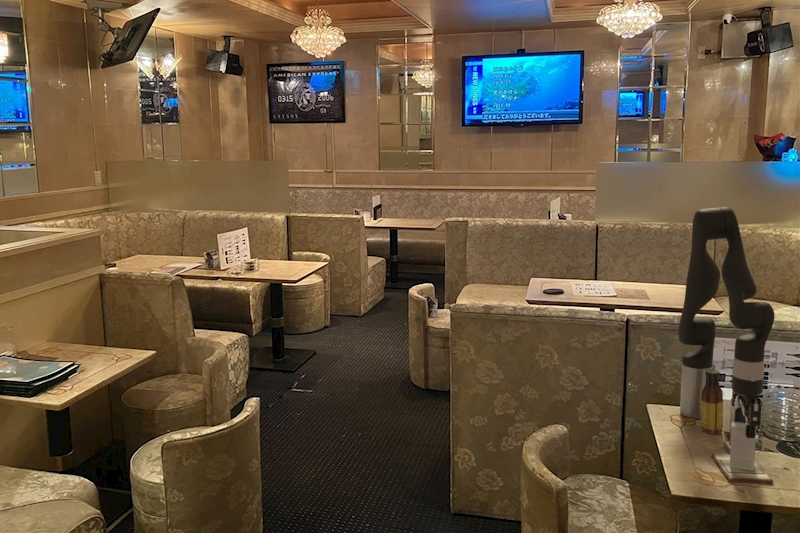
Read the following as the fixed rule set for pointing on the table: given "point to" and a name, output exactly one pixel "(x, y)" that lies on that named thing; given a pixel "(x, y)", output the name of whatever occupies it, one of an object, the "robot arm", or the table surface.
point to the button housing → (727, 447)
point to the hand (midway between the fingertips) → (744, 430)
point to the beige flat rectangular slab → (741, 471)
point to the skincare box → (741, 448)
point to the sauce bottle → (712, 404)
